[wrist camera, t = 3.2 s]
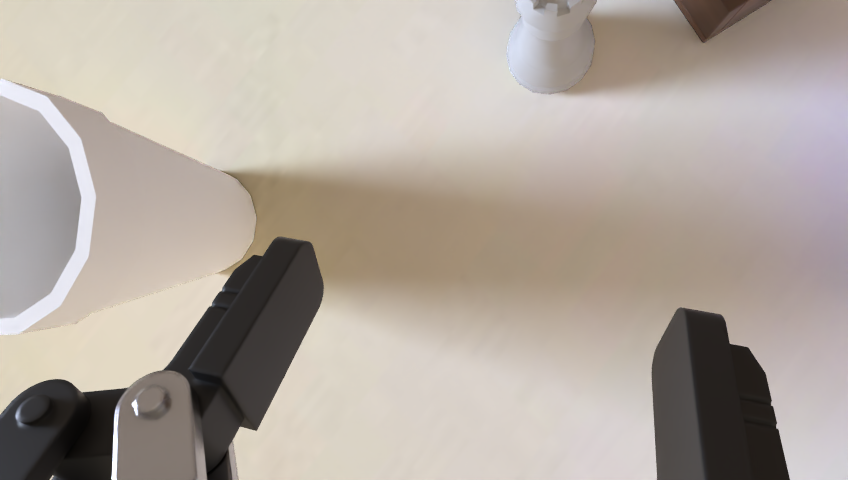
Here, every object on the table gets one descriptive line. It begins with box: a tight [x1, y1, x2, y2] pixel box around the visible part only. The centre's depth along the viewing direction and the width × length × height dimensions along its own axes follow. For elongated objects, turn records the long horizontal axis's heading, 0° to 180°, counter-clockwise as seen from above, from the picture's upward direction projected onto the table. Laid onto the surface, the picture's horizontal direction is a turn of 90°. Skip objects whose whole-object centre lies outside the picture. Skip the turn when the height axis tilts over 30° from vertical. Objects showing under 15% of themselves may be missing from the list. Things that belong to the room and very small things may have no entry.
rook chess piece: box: [507, 0, 597, 94], centre depth 23 cm, size 4×4×8 cm
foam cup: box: [0, 79, 257, 335], centre depth 25 cm, size 10×9×13 cm
